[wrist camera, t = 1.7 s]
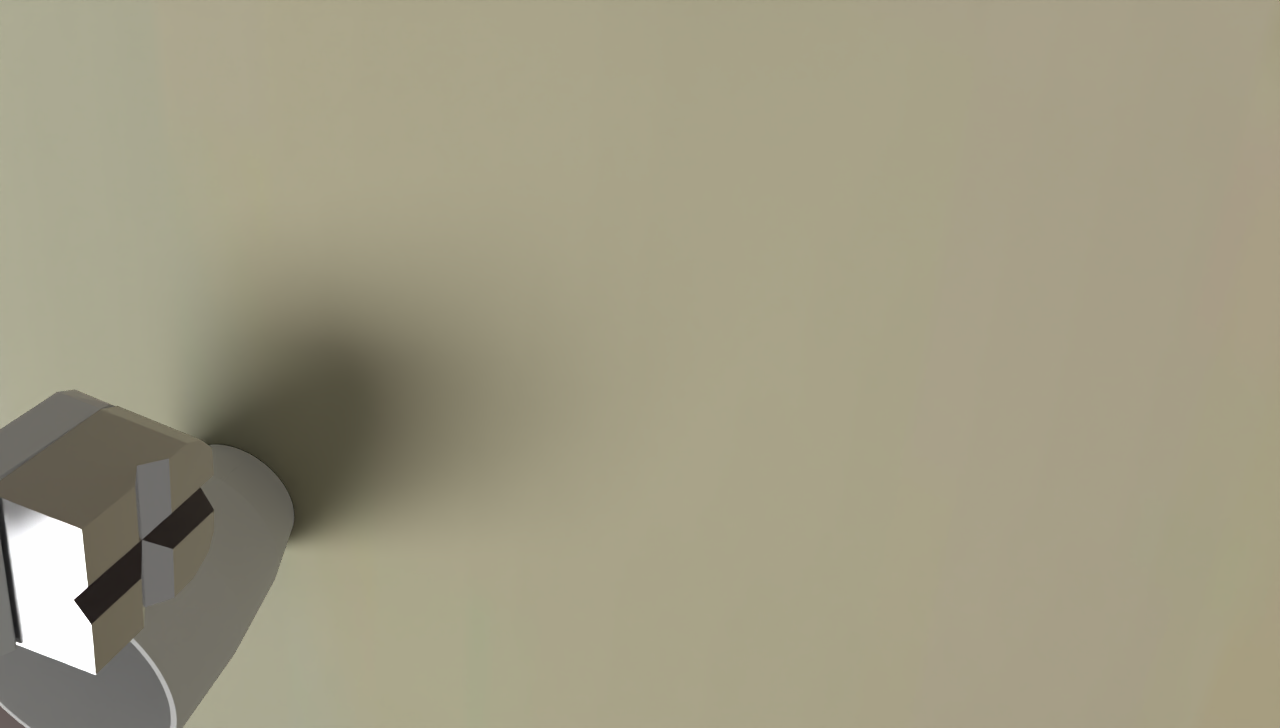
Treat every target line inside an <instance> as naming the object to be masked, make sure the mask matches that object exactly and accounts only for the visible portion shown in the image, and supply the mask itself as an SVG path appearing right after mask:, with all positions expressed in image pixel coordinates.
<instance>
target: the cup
mask: <svg viewBox="0 0 1280 728" xmlns="http://www.w3.org/2000/svg"><path fill="white" fill-rule="evenodd" d="M209 446H210V447H211V448H212V453H213V469H214V475H213V476H212V477H211V478H210V479H209V480H208V481H207V482H206V483H205V484H203V485H202V486H201V489H202V490H203V492H204V494H205V495H206V497H207V499H208V500H209V502H210V504H211V505H212V507H213V509H214V533H213V537H212V541H211V545H210V549H209V552H208V554H207V556H206V557H205V559H204V561H203V563H202V564H201V566H200V568H199V570H198V571H197V573H196V575H195V577H194V578H193V579H192V580H191V581H190V582H189V583H188V584H187V585H186V586H185V588H184V589H183V590H182V591H181V592H180V593H179V594H178V595H177V596H176V597H175V598H172V599H169V600H166V601H163V602H160V603H157V604H154V605H151V606H148V607H145V619H144V628H143V629H142V630H141V631H140V632H139V633H138V634H137V635H136V636H135V637H134V638H133V639H132V640H131V641H130V642H129V643H128V644H127V645H126V646H125V647H124V648H123V649H122V650H121V651H120V652H119V653H118V654H117V655H116V656H115V657H114V658H113V659H112V660H111V661H110V662H109V663H108V664H107V665H105V666H104V667H103V668H102V669H101V670H100V671H99V672H98V673H97V674H96V675H95V674H92V673H89V672H87V671H84V670H82V669H79V668H77V667H74V666H71V665H69V664H66V663H64V662H61V661H59V660H56V659H53V658H51V657H48V656H46V655H43V654H40V653H38V652H35V651H33V650H30V649H28V648H25V647H22V646H20V645H17V644H16V646H17V648H16V650H14V651H12V652H9V653H7V654H4V655H2V656H0V706H1V707H2V708H3V709H5V711H6V712H8V713H9V714H10V715H11V716H12V717H13V718H15V719H16V720H17V721H18V722H20V723H21V724H22V725H23V726H25V727H26V728H183V726H184V725H185V723H186V722H187V721H188V719H189V718H190V716H191V715H192V713H193V712H194V711H195V709H196V708H197V706H198V705H199V704H200V702H201V701H202V699H203V698H204V696H205V695H206V694H207V692H208V691H209V689H210V688H211V686H212V685H213V684H214V682H215V681H216V679H217V678H218V677H219V675H220V674H221V672H222V671H223V669H224V668H225V667H226V665H227V664H228V662H229V661H230V659H231V658H232V657H233V655H234V654H235V652H236V650H237V648H238V646H239V645H240V643H241V641H242V639H243V637H244V635H245V633H246V632H247V630H248V628H249V626H250V624H251V622H252V621H253V619H254V617H255V615H256V613H257V611H258V609H259V608H260V606H261V604H262V602H263V600H264V598H265V597H266V595H267V593H268V591H269V589H270V587H271V586H272V584H273V582H274V580H275V577H276V574H277V571H278V569H279V566H280V563H281V560H282V557H283V554H284V551H285V548H286V545H287V542H288V539H289V536H290V533H291V530H292V527H293V524H294V509H293V504H292V501H291V498H290V496H289V493H288V491H287V490H286V488H285V486H284V485H283V483H282V482H281V480H280V479H279V478H278V477H277V475H276V474H275V473H274V472H273V471H272V470H271V469H270V468H269V467H268V466H266V465H265V464H264V463H263V462H261V461H260V460H259V459H257V458H256V457H254V456H252V455H251V454H249V453H247V452H245V451H242V450H240V449H237V448H234V447H231V446H226V445H209Z"/></svg>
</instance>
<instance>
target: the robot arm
mask: <svg viewBox="0 0 1280 728" xmlns="http://www.w3.org/2000/svg"><path fill="white" fill-rule="evenodd" d="M213 475H214V469H213V453H212V448H211V447H210V446H209V445H207V444H206V443H205V442H203V441H202V440H200V439H198V438H195V437H193V436H190V435H188V434H185V433H183V432H181V431H178V430H176V429H173V428H171V427H168V426H166V425H163V424H161V423H158V422H156V421H153V420H151V419H149V418H146V417H144V416H141V415H139V414H136V413H134V412H131V411H129V410H126V409H124V408H121V407H119V406H113V405H111V404H109V403H106V402H104V401H101V400H99V399H97V398H94V397H92V396H89V395H87V394H84V393H82V392H80V391H77V390H68V391H61V392H57V393H55V394H53V395H52V396H50V397H49V398H47V399H46V400H44V401H43V402H41V403H40V404H38V405H37V406H35V407H34V408H32V409H31V410H29V411H27V412H26V413H24V414H23V415H21V416H20V417H18V418H17V419H15V420H14V421H12V422H11V423H9V424H8V425H6V426H5V427H3V428H2V429H0V656H2V655H4V654H7V653H9V652H12V651H14V650H16V648H17V646H16V644H17V645H20V646H22V647H25V648H28V649H30V650H33V651H35V652H38V653H40V654H43V655H46V656H48V657H51V658H53V659H56V660H59V661H61V662H64V663H66V664H69V665H71V666H74V667H77V668H79V669H82V670H84V671H87V672H89V673H92V674H95V675H96V674H97V673H98V672H99V671H100V670H101V669H102V668H103V667H104V666H105V665H107V664H108V663H109V662H110V661H111V660H112V659H113V658H114V657H115V656H116V655H117V654H118V653H119V652H120V651H121V650H122V649H123V648H124V647H125V646H126V645H127V644H128V643H129V642H130V641H131V640H132V639H133V638H134V637H135V636H136V635H137V634H138V633H139V632H140V631H141V630H142V629H143V628H144V619H145V607H148V606H151V605H154V604H157V603H160V602H163V601H166V600H169V599H172V598H175V597H176V596H177V595H178V594H179V593H180V592H181V591H182V590H183V589H184V588H185V586H186V585H187V584H188V583H189V582H190V581H191V580H192V579H193V578H194V577H195V575H196V573H197V571H198V570H199V568H200V566H201V564H202V563H203V561H204V559H205V557H206V556H207V554H208V552H209V549H210V545H211V541H212V537H213V533H214V509H213V507H212V505H211V504H210V502H209V500H208V499H207V497H206V495H205V494H204V492H203V490H202V489H201V486H202V485H203V484H205V483H206V482H207V481H208V480H209V479H210V478H211V477H212V476H213Z"/></svg>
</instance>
